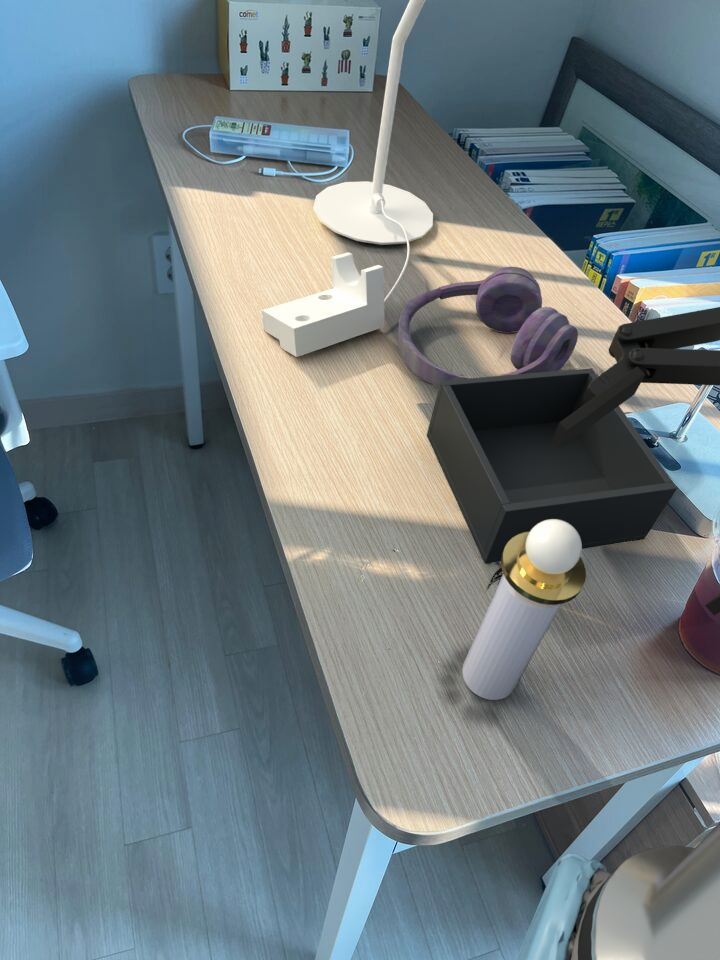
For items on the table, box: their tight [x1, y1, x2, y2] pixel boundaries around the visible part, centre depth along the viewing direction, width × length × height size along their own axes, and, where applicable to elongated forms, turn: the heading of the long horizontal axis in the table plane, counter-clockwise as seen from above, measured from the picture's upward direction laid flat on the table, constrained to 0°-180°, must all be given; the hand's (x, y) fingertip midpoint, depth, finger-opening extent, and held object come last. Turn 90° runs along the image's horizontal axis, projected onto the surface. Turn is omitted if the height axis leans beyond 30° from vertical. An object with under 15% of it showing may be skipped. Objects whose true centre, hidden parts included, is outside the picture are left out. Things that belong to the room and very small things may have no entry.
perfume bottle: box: [461, 519, 587, 701], centre depth 56 cm, size 6×6×20 cm
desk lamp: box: [312, 0, 434, 304], centre depth 92 cm, size 37×18×45 cm, turn 14°
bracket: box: [261, 251, 385, 358], centre depth 91 cm, size 13×7×8 cm, turn 127°
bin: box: [426, 367, 678, 565], centre depth 76 cm, size 18×18×8 cm
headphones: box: [398, 266, 579, 387], centre depth 91 cm, size 18×8×20 cm
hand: (634, 517), depth 46 cm, fingers open, 13 cm apart
